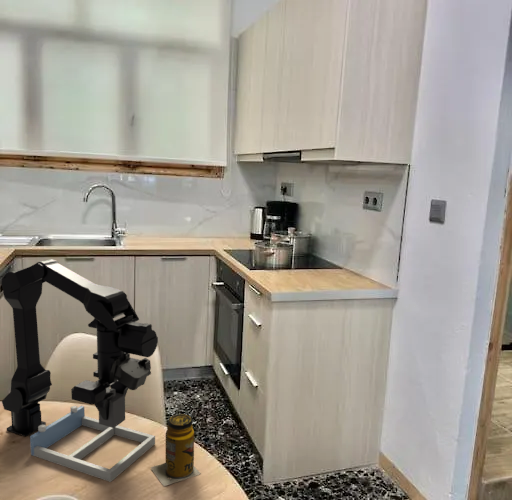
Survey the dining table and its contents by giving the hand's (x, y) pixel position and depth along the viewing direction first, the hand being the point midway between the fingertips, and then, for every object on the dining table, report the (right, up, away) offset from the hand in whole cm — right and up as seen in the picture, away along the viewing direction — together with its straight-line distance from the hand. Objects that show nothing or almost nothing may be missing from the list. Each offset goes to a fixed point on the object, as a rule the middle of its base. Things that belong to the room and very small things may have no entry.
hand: (112, 415), depth 112 cm
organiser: (-5, -9, +4) cm, 11 cm away
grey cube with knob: (0, -2, 0) cm, 2 cm away
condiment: (+15, -11, -4) cm, 19 cm away
